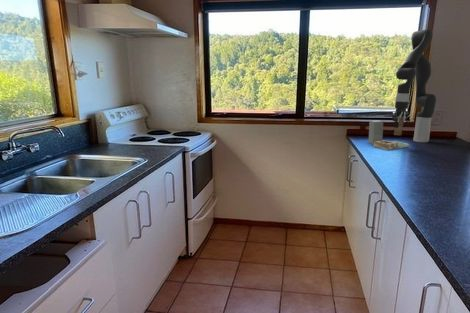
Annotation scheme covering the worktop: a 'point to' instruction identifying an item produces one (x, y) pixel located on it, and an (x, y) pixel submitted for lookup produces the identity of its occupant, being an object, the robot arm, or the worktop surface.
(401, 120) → the dowel
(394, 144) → the pocket block
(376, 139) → the skincare box
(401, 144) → the tray
